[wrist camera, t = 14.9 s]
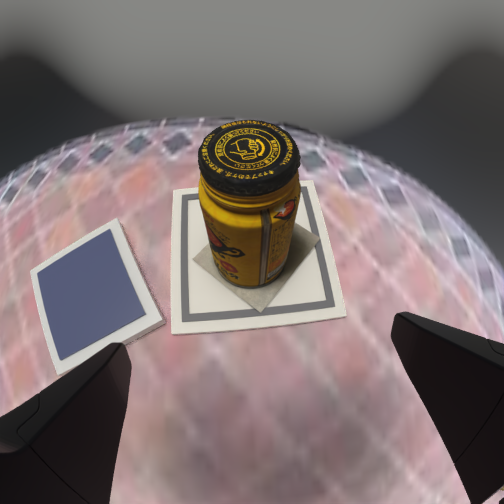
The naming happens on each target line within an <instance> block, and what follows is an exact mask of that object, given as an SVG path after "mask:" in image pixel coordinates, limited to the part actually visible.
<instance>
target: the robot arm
mask: <svg viewBox="0 0 504 504" xmlns="http://www.w3.org/2000/svg"><path fill="white" fill-rule="evenodd" d="M391 339H392V342H393V344H394V346H395V348H396V351H397V353H398V355H399V357H400V360H401V362H402V364H403V366H404V369H405V371H406V373H407V375H408V376H409V378H410V380H411V382H412V384H413V385H414V387H415V389H416V391H417V393H418V394H419V396H420V398H421V400H422V402H423V403H424V405H425V407H426V409H427V411H428V413H429V415H430V417H431V418H432V420H433V422H434V424H435V426H436V428H437V430H438V432H439V434H440V436H441V438H442V440H443V442H444V444H445V446H446V448H447V450H448V452H449V454H450V456H451V459H452V461H453V463H455V464H454V465H455V468H456V470H457V472H458V474H459V476H460V479H461V481H462V483H463V485H464V488H465V490H466V493H467V495H468V497H469V500H470V502H471V504H482V503H483V502H485V501H486V500H487V499H489V498H490V497H491V496H492V495H494V494H495V493H496V492H497V491H499V490H500V489H501V488H502V487H503V486H504V344H503V343H500V342H496V341H493V340H490V339H486V338H484V337H481V336H478V335H475V334H472V333H469V332H466V331H463V330H460V329H457V328H454V327H451V326H448V325H445V324H442V323H439V322H436V321H433V320H430V319H427V318H424V317H421V316H418V315H415V314H412V313H409V312H401V313H397V314H396V315H395V317H394V321H393V326H392V331H391ZM131 370H132V366H131V361H130V358H129V355H128V353H127V350H126V347H125V345H124V344H123V343H122V342H112V343H110V344H108V345H107V346H106V347H104V348H103V349H101V350H100V351H98V352H97V353H95V354H94V355H93V356H91V357H90V358H88V359H87V360H85V361H84V362H82V363H81V364H80V365H78V366H77V367H75V368H74V369H72V370H71V371H69V372H68V373H67V374H65V375H64V376H62V377H61V378H59V379H58V380H56V381H55V382H54V383H52V384H51V385H49V386H48V387H46V388H45V389H44V390H42V391H41V392H40V393H38V394H36V395H35V396H33V397H32V398H31V399H29V400H28V401H26V402H25V403H23V404H22V405H20V406H18V407H17V408H15V409H13V410H12V411H10V412H8V413H7V414H5V415H3V416H1V417H0V504H109V502H110V495H111V488H112V481H113V475H114V469H115V463H116V458H117V453H118V447H119V442H120V437H121V432H122V428H123V423H124V419H125V414H126V409H127V403H128V394H129V385H130V377H131ZM499 504H504V497H503V498H502V499H501V500H500V501H499Z"/></svg>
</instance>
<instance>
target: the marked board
mask: <svg viewBox="0 0 504 504" xmlns="http://www.w3.org/2000/svg"><path fill="white" fill-rule="evenodd" d="M300 184H301V195H300V201H299V206H298V210H297V215H296V219H295V223H297V224H299V225H300V226H302V227H303V228H305V229H306V230H308V231H309V232H311V233H313V234H315V235H317V236H318V237H320V239H319V241H318V242H317V243H316V244H315V246H314V247H313V248H312V250H311V251H310V252H309V254H308V255H307V256H306V257H305V259H304V260H303V261H302V262H301V264H300V265H299V266H298V267H297V269H296V270H295V271H294V273H293V274H292V275H291V276H290V278H289V279H288V280H287V281H286V283H285V284H284V285H283V286H282V288H281V289H280V290H279V291H278V292H277V294H276V295H275V296H274V297H273V299H272V300H271V301H270V302H269V303H268V305H267V306H266V307H265V308H264V309H263V311H262V312H261V313H260V312H259V311H258V310H256V309H255V308H254V307H253V306H251V305H250V304H249V303H247V302H246V301H245V300H243V299H242V298H241V297H239V296H238V295H236V294H235V293H234V292H233V291H231V290H230V289H229V288H227V287H226V286H225V285H224V284H222V283H221V282H220V281H219V280H217V279H216V278H215V277H213V276H212V275H211V274H210V273H209V272H207V271H206V270H205V269H204V268H202V267H201V266H200V265H199V264H198V263H196V262H195V261H194V260H193V259H192V258H194V257H195V256H196V255H197V254H198V253H199V252H200V251H201V250H202V249H203V248H204V247H205V246H206V245H207V244H208V243H209V240H208V235H207V231H206V227H205V222H204V218H203V214H202V210H201V207H200V203H199V195H198V188H199V187H197V188H187V189H178V190H174V192H173V209H172V233H171V331H172V335H184V334H202V333H216V332H229V331H241V330H251V329H261V328H270V327H279V326H288V325H296V324H303V323H311V322H318V321H324V320H331V319H338V318H344V317H346V316H347V315H346V310H345V305H344V300H343V295H342V291H341V286H340V282H339V277H338V273H337V269H336V264H335V260H334V256H333V252H332V248H331V244H330V240H329V236H328V232H327V229H326V225H325V221H324V218H323V214H322V210H321V207H320V203H319V200H318V196H317V193H316V189H315V186H314V183H313V180H312V181H300Z"/></svg>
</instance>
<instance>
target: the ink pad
mask: <svg viewBox="0 0 504 504" xmlns="http://www.w3.org/2000/svg"><path fill="white" fill-rule="evenodd" d="M30 272H31V278H32V283H33V289H34V294H35V299H36V303H37V308H38V312H39V316H40V320H41V324H42V328H43V331H44V335H45V338H46V342H47V345H48V348H49V351H50V355H51V358H52V361H53V364H54V366H55V369H56V372H57V375H58V376H64V375H65V374H67V373H68V372H69V371H71V370H72V369H74V368H75V367H77V366H78V365H80V364H81V363H82V362H84V361H85V360H87V359H88V358H90V357H91V356H93V355H94V354H95V353H97V352H98V351H100V350H101V349H103V348H104V347H106V346H107V345H108V344H110V343H112V342H122V343H123V344H124V345H126V344H128V343H130V342H132V341H134V340H136V339H138V338H140V337H141V336H143V335H145V334H147V333H149V332H151V331H152V330H154V329H156V328H158V327H160V326H162V325H163V324H165V323H166V321H165V319H164V318H163V316H162V314H161V312H160V310H159V308H158V306H157V304H156V302H155V299H154V297H153V295H152V293H151V291H150V289H149V287H148V285H147V283H146V281H145V278H144V276H143V274H142V272H141V270H140V267H139V265H138V263H137V261H136V258H135V256H134V254H133V251H132V249H131V247H130V244H129V242H128V239H127V237H126V235H125V232H124V230H123V227H122V225H121V223H120V221H119V220H118V218H116V219H114V220H112V221H110V222H108V223H107V224H105V225H103V226H101V227H100V228H98V229H96V230H94V231H93V232H91V233H89V234H88V235H86V236H84V237H82V238H81V239H79V240H77V241H76V242H74V243H73V244H71V245H69V246H68V247H66V248H64V249H63V250H61V251H60V252H58V253H57V254H55V255H53V256H52V257H50V258H49V259H47V260H46V261H44V262H43V263H41V264H40V265H38V266H37V267H35V268H34V269H32V270H31V271H30Z"/></svg>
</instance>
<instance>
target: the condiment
mask: <svg viewBox="0 0 504 504" xmlns="http://www.w3.org/2000/svg"><path fill="white" fill-rule="evenodd" d="M300 158H301V157H300V155H299V150H298V147H297V145H296V143H295V141H294V140H293V138H292V137H291V136H290V134H289V133H288V132H286V131H285V130H283V129H282V128H280V127H278V126H275V125H274V124H270V123H267V122H264V121H256V120H244V121H243V120H240V121H235V122H231V123H227V124H225V125H222V126H220V127H218V128H216V129H215V130H213V131H212V132H211V133H210V134H208V135H207V136H206V137H205V138H204V140H203V143H202V145H201V146H200V148H199V151H198V163H199V169H200V181H199V188H198V195H199V203H200V207H201V210H202V214H203V218H204V222H205V227H206V231H207V235H208V240H209V243H208V244H207V245H206V246H205V247H204V248H203V249H202V250H201V251H200V252H199V253H198V254H197V255H196V256H195V257H194V258H192V259H193V260H194V261H195V262H196V263H198V264H199V265H200V266H201V267H202V268H204V269H205V270H206V271H207V272H209V273H210V274H211V275H212V276H213V277H215V278H216V279H217V280H219V281H220V282H221V283H222V284H224V285H225V286H226V287H227V288H229V289H230V290H231V291H233V292H234V293H235V294H236V295H238V296H239V297H241V298H242V299H243V300H245V301H246V302H247V303H249V304H250V305H251V306H253V307H254V308H255V309H256V310H258V311H259V312H260V313H261V312H262V311H263V309H264V308H265V307H266V306H267V305H268V303H269V302H270V301H271V300H272V299H273V297H274V296H275V295H276V294H277V292H278V291H279V290H280V289H281V288H282V286H283V285H284V284H285V283H286V281H287V280H288V279H289V278H290V276H291V275H292V274H293V273H294V271H295V270H296V269H297V267H298V266H299V265H300V264H301V262H302V261H303V260H304V259H305V257H306V256H307V255H308V254H309V252H310V251H311V250H312V248H313V247H314V246H315V244H316V243H317V242H318V241H319V239H320V237H318V236H317V235H315V234H313V233H311V232H309V231H308V230H306V229H305V228H303V227H302V226H300V225H299V224H297V223H295V219H296V215H297V210H298V206H299V201H300V195H301V184H300V181H299V174H298V168H299V167H300Z"/></svg>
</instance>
